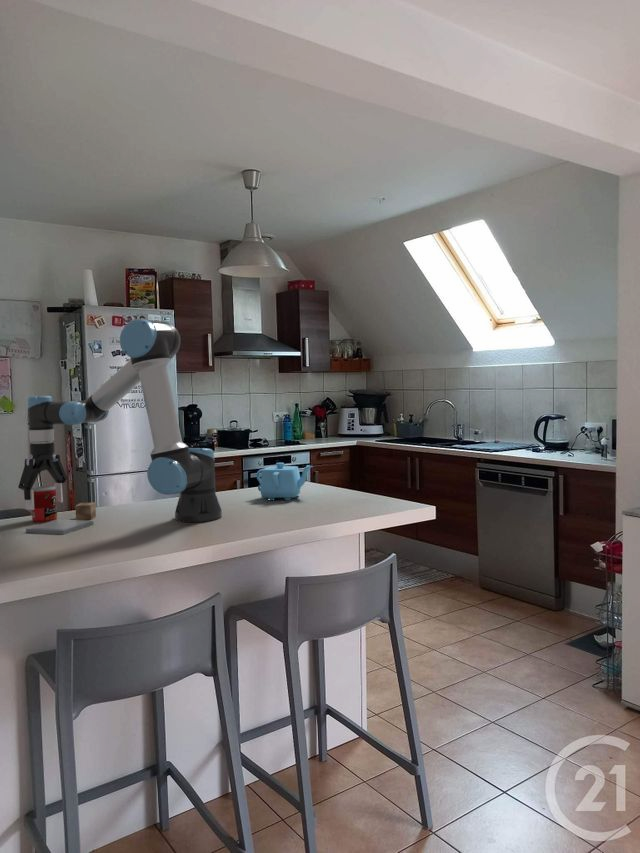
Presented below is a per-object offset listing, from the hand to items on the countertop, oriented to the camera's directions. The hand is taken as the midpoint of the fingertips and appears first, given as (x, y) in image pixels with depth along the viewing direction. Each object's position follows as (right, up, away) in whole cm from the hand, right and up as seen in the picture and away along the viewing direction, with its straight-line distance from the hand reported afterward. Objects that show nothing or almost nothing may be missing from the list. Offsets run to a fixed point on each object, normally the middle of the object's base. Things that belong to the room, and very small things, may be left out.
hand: (44, 505), depth 222 cm
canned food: (0, -5, 0) cm, 5 cm away
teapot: (+79, -1, +30) cm, 84 cm away
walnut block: (+13, -5, +1) cm, 14 cm away
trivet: (+11, -6, -14) cm, 18 cm away
